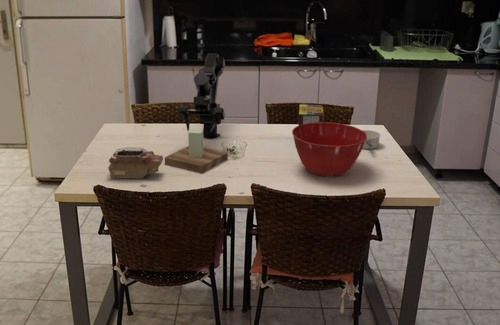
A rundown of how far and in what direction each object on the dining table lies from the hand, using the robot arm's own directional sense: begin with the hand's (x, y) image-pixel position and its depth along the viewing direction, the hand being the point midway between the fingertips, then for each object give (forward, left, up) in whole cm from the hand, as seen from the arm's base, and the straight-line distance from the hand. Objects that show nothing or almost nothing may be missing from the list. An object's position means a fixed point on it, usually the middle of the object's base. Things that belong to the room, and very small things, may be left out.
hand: (199, 131), depth 237 cm
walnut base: (+6, +3, -11) cm, 13 cm away
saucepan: (-46, +55, -11) cm, 73 cm away
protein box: (-40, +31, -11) cm, 52 cm away
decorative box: (+29, -8, -11) cm, 32 cm away
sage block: (+6, +3, -8) cm, 10 cm away
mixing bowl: (-14, +51, -11) cm, 54 cm away
